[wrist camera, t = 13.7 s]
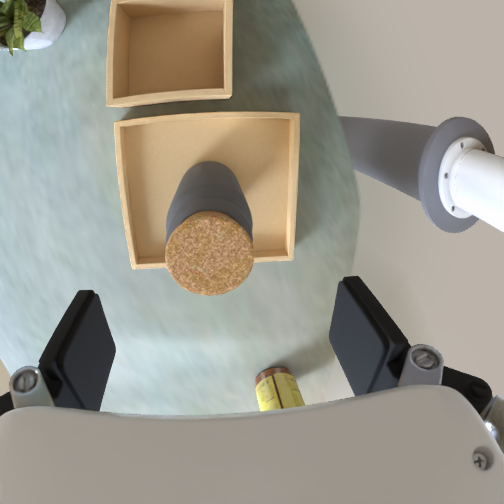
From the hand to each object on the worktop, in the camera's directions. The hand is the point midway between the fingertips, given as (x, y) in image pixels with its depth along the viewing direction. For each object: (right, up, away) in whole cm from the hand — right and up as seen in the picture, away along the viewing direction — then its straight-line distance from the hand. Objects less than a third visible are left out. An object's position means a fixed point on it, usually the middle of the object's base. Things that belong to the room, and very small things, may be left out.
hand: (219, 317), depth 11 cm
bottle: (-3, +9, +18) cm, 20 cm away
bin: (-6, +21, +12) cm, 25 cm away
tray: (-3, +9, +18) cm, 21 cm away
